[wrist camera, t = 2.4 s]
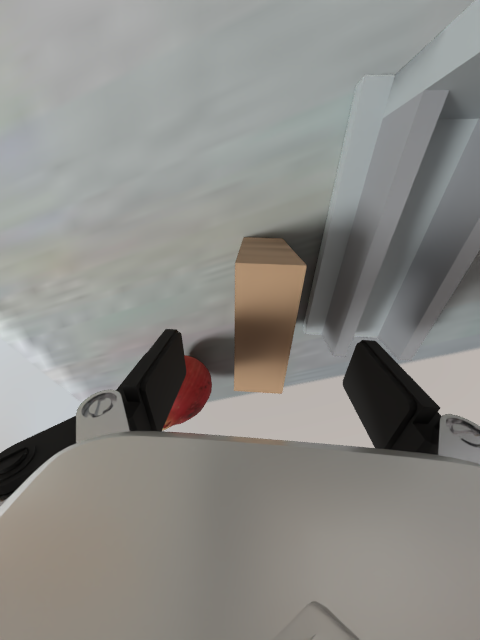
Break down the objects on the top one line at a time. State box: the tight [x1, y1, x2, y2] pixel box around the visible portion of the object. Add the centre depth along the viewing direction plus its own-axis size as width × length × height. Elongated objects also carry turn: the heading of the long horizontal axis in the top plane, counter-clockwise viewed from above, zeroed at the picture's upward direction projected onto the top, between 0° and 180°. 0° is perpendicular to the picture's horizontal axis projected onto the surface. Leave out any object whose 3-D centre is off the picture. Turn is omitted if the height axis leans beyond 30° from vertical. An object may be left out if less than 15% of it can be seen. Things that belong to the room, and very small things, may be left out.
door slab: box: [234, 237, 307, 394], centre depth 14 cm, size 8×3×8 cm, turn 179°
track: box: [303, 0, 480, 361], centre depth 11 cm, size 16×9×8 cm, turn 179°
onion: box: [162, 355, 212, 430], centre depth 18 cm, size 6×6×8 cm
